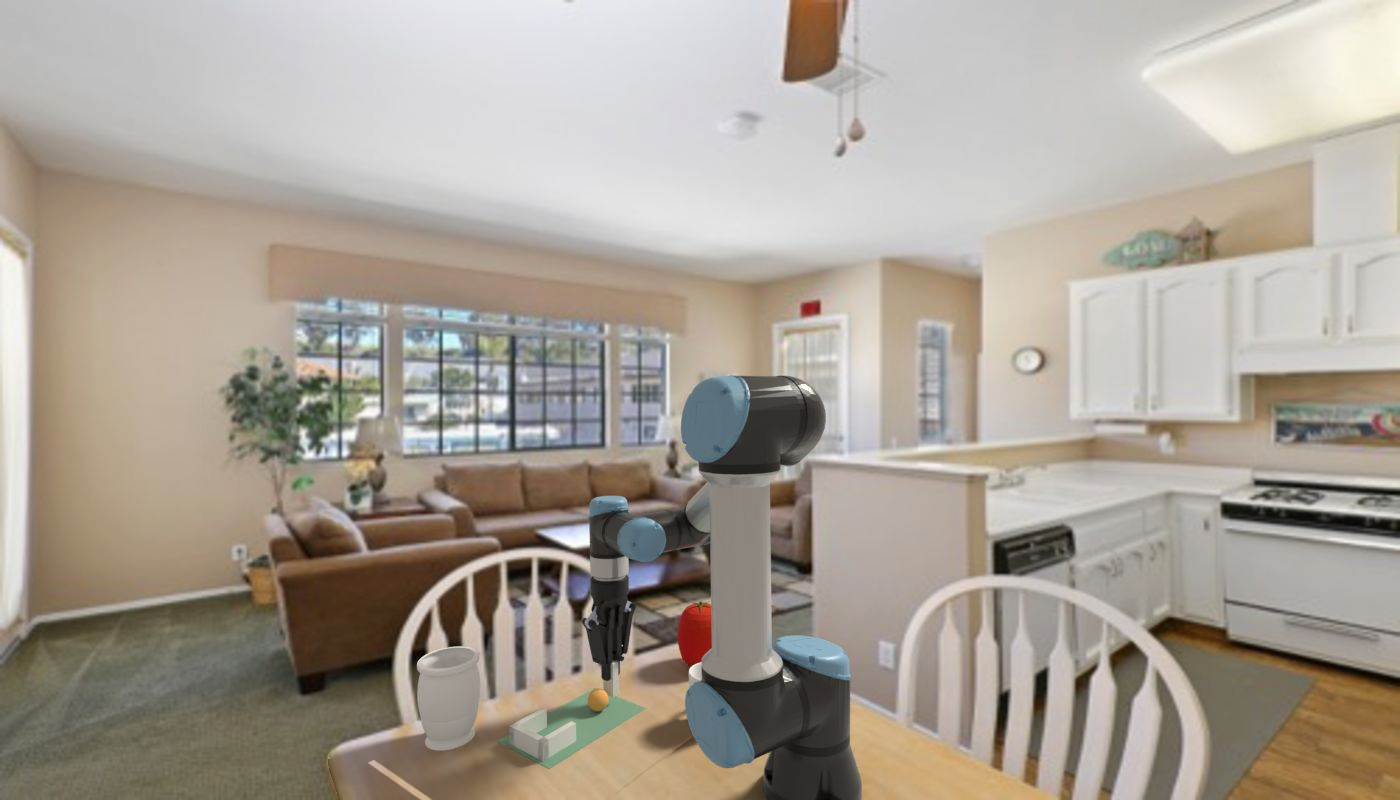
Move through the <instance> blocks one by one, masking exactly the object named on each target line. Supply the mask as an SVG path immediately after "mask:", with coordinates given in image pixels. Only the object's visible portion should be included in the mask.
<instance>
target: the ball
mask: <svg viewBox="0 0 1400 800" xmlns="http://www.w3.org/2000/svg"><path fill="white" fill-rule="evenodd" d="M607 704H608V695H607V693H606V692H605V691H604V690H603V688H596V689H595V690H593V691H592V692H591V693H590V694H589V696H588V706H589V707H590V709H591V710H593V711H596V712H598V711H602V710H603V709H605V707H606V706H607Z"/></svg>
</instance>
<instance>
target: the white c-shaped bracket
mask: <svg viewBox="0 0 1400 800" xmlns="http://www.w3.org/2000/svg"><path fill="white" fill-rule="evenodd" d="M547 714H548V710H547V709H545V708H543V707H542V708H540V709H538V710H536V711H535V712H532V713H531V714H528V715H527V716H525V717H523V718H521V719H519V720H517V721H515V722H513V723H511V724H510V725H509V726H508V730H509V731H508V733H509V734H508V735H509V744H511V745H513V746H515V747H517V748H519V749H521V750H523V751H524V752H526V753H528V754H530V755H532V756H534V757H536V758H538V759H540V760H542V761H544V760H546V759H548V758H549V757H551V756H553V755H554V754H556V753H558V752H559V751H561V750H562V749H564V748H566V747H567V746H569V745H571V744H572V743H574V742H576V723H574V722H572V721H571V722H569V723H567V724H566V725H564V726H562V727H560V728H559V729H557V730H555V731H553V732H552V733H550V734H548V735H546V736H545V737H543V736H541V735H539V734H537V733H538V732H539V731H541V730H543V729H545V728H546V727H547Z"/></svg>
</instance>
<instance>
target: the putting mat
mask: <svg viewBox="0 0 1400 800" xmlns="http://www.w3.org/2000/svg"><path fill="white" fill-rule="evenodd" d="M595 689H597V688H596V687H595V688H592V689H591V690H589V691H587V692H585V693H582V694H581V695H579V696H578V697H576V698H574V699H572V700H570V701H568V702H566V703H565V704H563V705H561V706H559V707H557V708H555V709H553V710H551V711H550V712H547V727H546V728H545V729H543V730H541V731H539V732H538V733H537V734H539V735H541V736H543V737H545V736H546V735H548V734H550V733H552V732H553V731H555V730H557V729H559V728H560V727H562V726H564V725H566V724H567V723H569V722H571V721H572V722H574V723H576V742H574V743H572V744H571V745H569V746H567V747H566V748H564V749H562V750H561V751H559V752H558V753H556V754H554V755H553V756H551V757H549V758H548V759H546V760H544V761H542V760H540V759H538V758H536V757H534V756H532V755H530V754H528V753H526V752H524V751H523V750H521V749H519V748H517V747H515V746H513V745H511V744H509V734H507V735H506V736H503V737H502V738H500V739H498V740H496V742H497V743H499V744H501V745H503V746H505V747H506V748H509V750H512V751H514V752H515V753H518V754H519V755H522V756H524V757H525V758H527V759H530V760H531V761H533V762H535V763H537V764H538V765H541V766H543V767H544V768H546V769H548V770H551V769H553V768H554V767H555V766H557V765H558V764H560V763H562V762H564V761H565V760H566V759H568V758H570V757H571V756H573V755H574V754H576V753H577V752H579V751H580V750H582V749H584V748H585V747H587V746H588V745H590V744H592V743H593V742H595V741H596V740H599V739H600V738H601V737H603V736H604V735H606V734H607V733H610V731H613V730H614V729H615V728H617V727H619V726H620V725H621V724H623V723H625V722H627V721H628V720H631V719H632V717H635V716H636V715H638V714H640V713H641V712H643V711H644V710H646V709H647V708H646V707H644V706H642V705H641V704H636V703H634V702H632V701H630V700H627V699H624V698H622V697H618V695H616V696H615V697H611V696H609V695H608V704H607V706H606V707H605V709H603V710H602V711H598V712H596V711H593V710H591V709H590V707H589V706H588V696H589V694H590V693H591V692H592V691H593V690H595Z"/></svg>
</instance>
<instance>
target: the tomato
mask: <svg viewBox="0 0 1400 800" xmlns="http://www.w3.org/2000/svg"><path fill="white" fill-rule="evenodd" d="M676 633H677V644H678V645H677V646H678V650H679V652H680V656H681V658H682V660H683V662H684V663H685V665H687V666H688V667H689V668H691V667H692V666H693V665H695V664H697V663H700V662H702V658H703V656H704V655H705V654H706V653H707V652H708V651H709V650H710V649H711V648H712V624H711V603H709V601H706V602H703V601H699V602H691V604H688V605H687V606H686V607H685V609H684V610H683V611H682V612H681V615H680V619H679V622H678V625H677V632H676Z"/></svg>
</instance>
